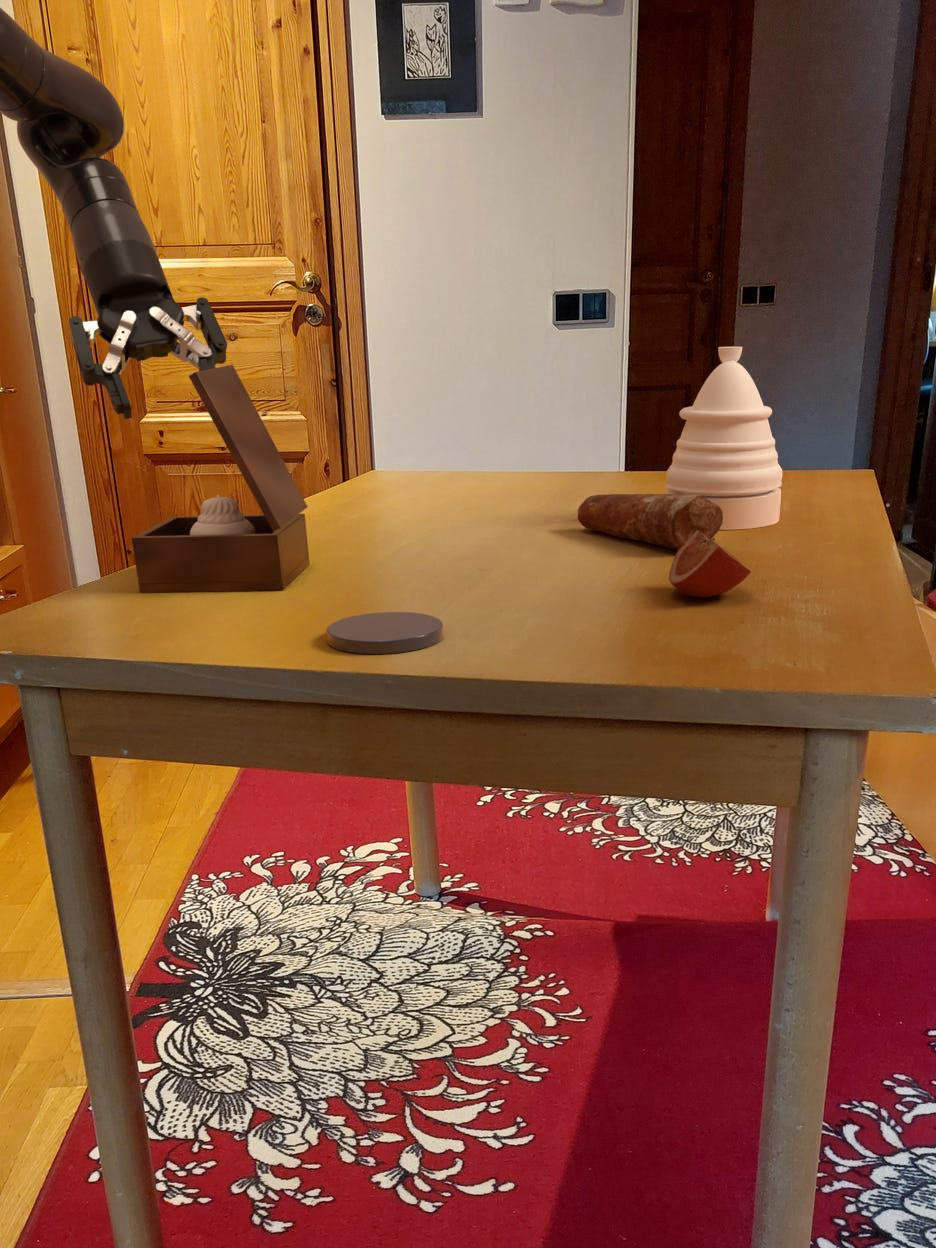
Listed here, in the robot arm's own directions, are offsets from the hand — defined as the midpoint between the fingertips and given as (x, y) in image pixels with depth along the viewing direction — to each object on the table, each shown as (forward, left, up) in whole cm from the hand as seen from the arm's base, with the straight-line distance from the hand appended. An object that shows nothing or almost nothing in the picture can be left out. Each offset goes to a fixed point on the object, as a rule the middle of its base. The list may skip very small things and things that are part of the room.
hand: (172, 406), depth 114 cm
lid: (+9, -7, -3) cm, 12 cm away
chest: (+6, -7, -15) cm, 18 cm away
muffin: (+6, -7, -15) cm, 17 cm away
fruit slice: (+51, -17, -15) cm, 56 cm away
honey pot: (+56, +20, -15) cm, 61 cm away
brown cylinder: (+46, +8, -15) cm, 49 cm away
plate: (+25, -30, -15) cm, 42 cm away
